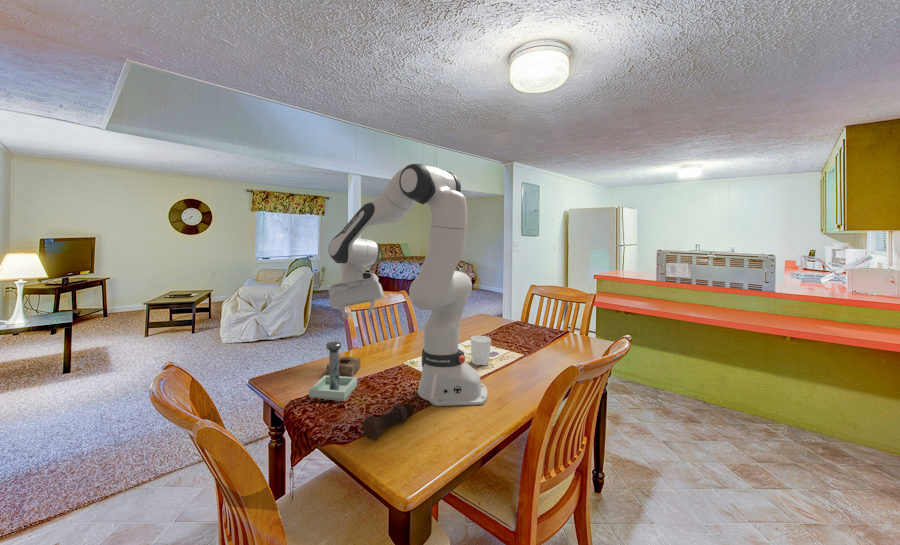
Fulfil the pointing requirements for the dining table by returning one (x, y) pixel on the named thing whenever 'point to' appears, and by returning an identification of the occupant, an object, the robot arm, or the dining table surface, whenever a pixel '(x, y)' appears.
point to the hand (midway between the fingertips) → (358, 315)
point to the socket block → (347, 366)
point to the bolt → (386, 420)
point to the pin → (334, 364)
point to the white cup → (480, 350)
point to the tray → (324, 392)
